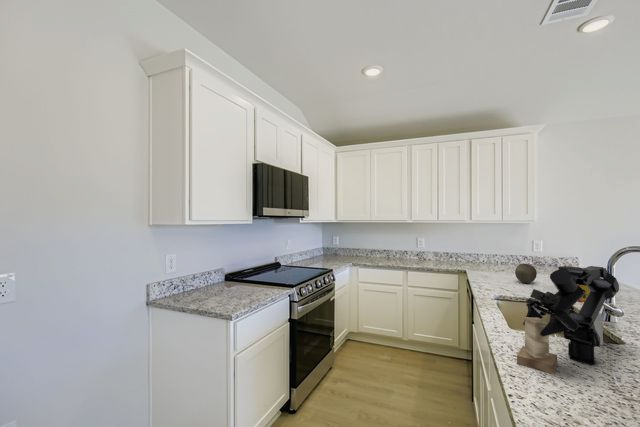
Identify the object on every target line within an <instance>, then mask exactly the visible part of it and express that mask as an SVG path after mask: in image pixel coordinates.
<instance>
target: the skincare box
mask: <svg viewBox="0 0 640 427" xmlns="http://www.w3.org/2000/svg"><path fill="white" fill-rule="evenodd" d="M594 326H595V329H596V331H597V333H598V335H599V337H600V346H604V336H603V335H604V333H603V332H604V331H603V319H602V313H601V312H599V314H598V316H597V318H596V320H595V322H594Z"/></svg>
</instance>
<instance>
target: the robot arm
mask: <svg viewBox="0 0 640 427" xmlns="http://www.w3.org/2000/svg"><path fill="white" fill-rule="evenodd" d="M559 267H560V269H557V270H554V271H552V272H551V273H550V274H549V279H550V281H551V283H553V285H554V287H555V288H556V290H557V291H556V292H555V293H553V292H550V291H546V292H542V291H540V290H537V289H535V288H533V289H532V292H531V294H530V298H527V299H526V300H525V305H526V307H527V313H526V316H525V317H532V318H540V319H543V318H544V316H546V315H548V316H550V317H549V322H548V324H547V325H546V326H545V328H544V329H543V330H542V331H541V333H540V335H541V336H547V335H549V336H550V335H554V334H558V333H559V334H560V333H563V335H564V336H563V337H564V339H565V340H568V341H569V342H568V343H567V348H568V356H569V359H570V360H572V361H577V362H582V363H584V364H589V365H593V366H594V365H595V363H596V357H595V348H596V347H597V348H598V347H599V348H600V347H601V345H600V337H599V335H598V333H597V331H596V329H595V326H594V322H595V320H596V318H597V316H598V314H599V313H601V310H602V307H603V306H604V304H605V302H606V300H609V299H612V298H615V296H616V294H617V293H619V291H620V284H619V281H618V279H617V277H615V276H614V275H612V274H611V273H609V271H608V269H607V268H606V267H603V266H596V265H595V266H594V265H591V266H587V267H579V268H581V269H579V268H570V267H571V266H568V267H565V268H564V267H561V266H559ZM578 285H583V286H588V287H589V291H590V293H589V295H588V297H587V298H586V294H585V292H586V291H585V290H583V289H582V288H581V287H580V286H578ZM581 298H584V299H585V298H586V300H585V302H584V303H583V304H582V305H581V308H580V309H579V311H578V313H574V312H573V313H572V312H570V313H568V311H574V310H575V308H574V307H573V306H574V305H576V304H577V303H578V300H579V299H581ZM522 325H523V326H524V327H525V319H524V321H523V323H522Z"/></svg>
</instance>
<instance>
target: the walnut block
mask: <svg viewBox="0 0 640 427" xmlns="http://www.w3.org/2000/svg"><path fill="white" fill-rule="evenodd" d="M516 365H519V366H521V367H522V366H523V367H525V368H526V367H527V368H529V369H533V370H536V371H540V372H543V373H547V374H551V375H555V372H556V368H557V366H558V354H556V353H552V352H549V359H541V358H534V357H533V356H531V355H530V354H528V353H527V352H526V351H525V345H522V347H521V348H520V350H519V352H518V353H517V354H516Z"/></svg>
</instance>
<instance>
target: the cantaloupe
mask: <svg viewBox="0 0 640 427" xmlns="http://www.w3.org/2000/svg"><path fill="white" fill-rule="evenodd" d="M537 273H538V271H537V269H536V268H535V266H533V265H532V264H529V263H521V264H519V265H517V266H516V268H515V270H514V274H515V277H516V279H517V280H518V281H519V282H520V283H521V284H522V283H523V284H529V283H530V284H531V283H533V282H534V281H535V280H536V279H537Z"/></svg>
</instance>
